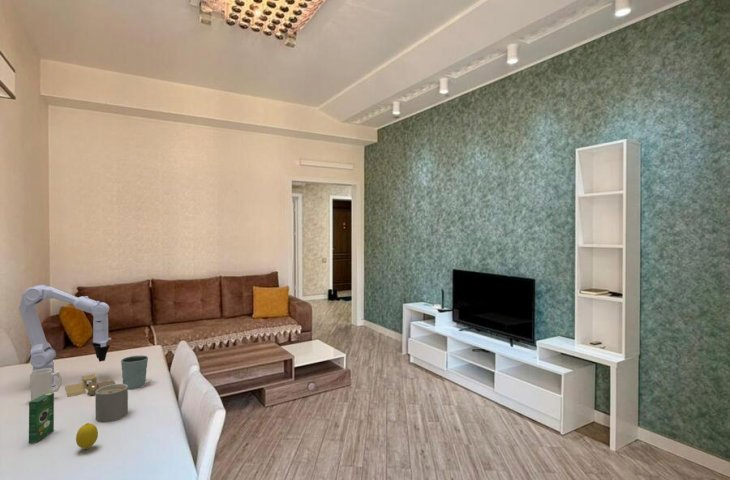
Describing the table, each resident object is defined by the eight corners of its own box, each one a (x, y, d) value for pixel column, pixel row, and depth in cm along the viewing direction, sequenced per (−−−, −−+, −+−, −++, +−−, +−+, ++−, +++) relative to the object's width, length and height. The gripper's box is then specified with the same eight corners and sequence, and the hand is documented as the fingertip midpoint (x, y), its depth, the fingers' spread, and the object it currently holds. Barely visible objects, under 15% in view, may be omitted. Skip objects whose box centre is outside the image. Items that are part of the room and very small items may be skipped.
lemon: (83, 444, 124) (83, 419, 124) (101, 443, 124) (101, 418, 124) (71, 454, 118) (71, 427, 118) (91, 453, 119) (91, 427, 119)
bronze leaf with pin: (84, 388, 170) (84, 379, 170) (113, 382, 177) (113, 374, 177) (88, 396, 161) (88, 387, 161) (118, 389, 168) (118, 381, 168)
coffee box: (45, 430, 133) (45, 392, 133) (54, 430, 133) (54, 391, 133) (27, 443, 125) (27, 402, 125) (37, 442, 125) (37, 401, 125)
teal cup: (115, 388, 170) (115, 360, 170) (137, 380, 180) (137, 354, 180) (132, 391, 167) (132, 363, 167) (153, 383, 176) (153, 356, 176)
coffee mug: (130, 416, 143) (130, 389, 143) (97, 425, 137) (97, 396, 137) (123, 404, 154) (123, 379, 153) (92, 412, 147) (92, 385, 147)
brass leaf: (64, 388, 170) (64, 380, 170) (94, 382, 177) (94, 374, 177) (67, 397, 161) (67, 388, 161) (98, 390, 168) (98, 381, 168)
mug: (28, 406, 152) (28, 375, 152) (31, 400, 157) (31, 370, 157) (61, 400, 158) (61, 370, 157) (62, 394, 163) (62, 365, 163)
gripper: (114, 331, 177) (114, 361, 177) (108, 325, 188) (108, 354, 188) (95, 333, 172) (95, 364, 172) (90, 328, 183) (90, 357, 183)
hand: (100, 359), depth 180 cm, fingers open, 6 cm apart
